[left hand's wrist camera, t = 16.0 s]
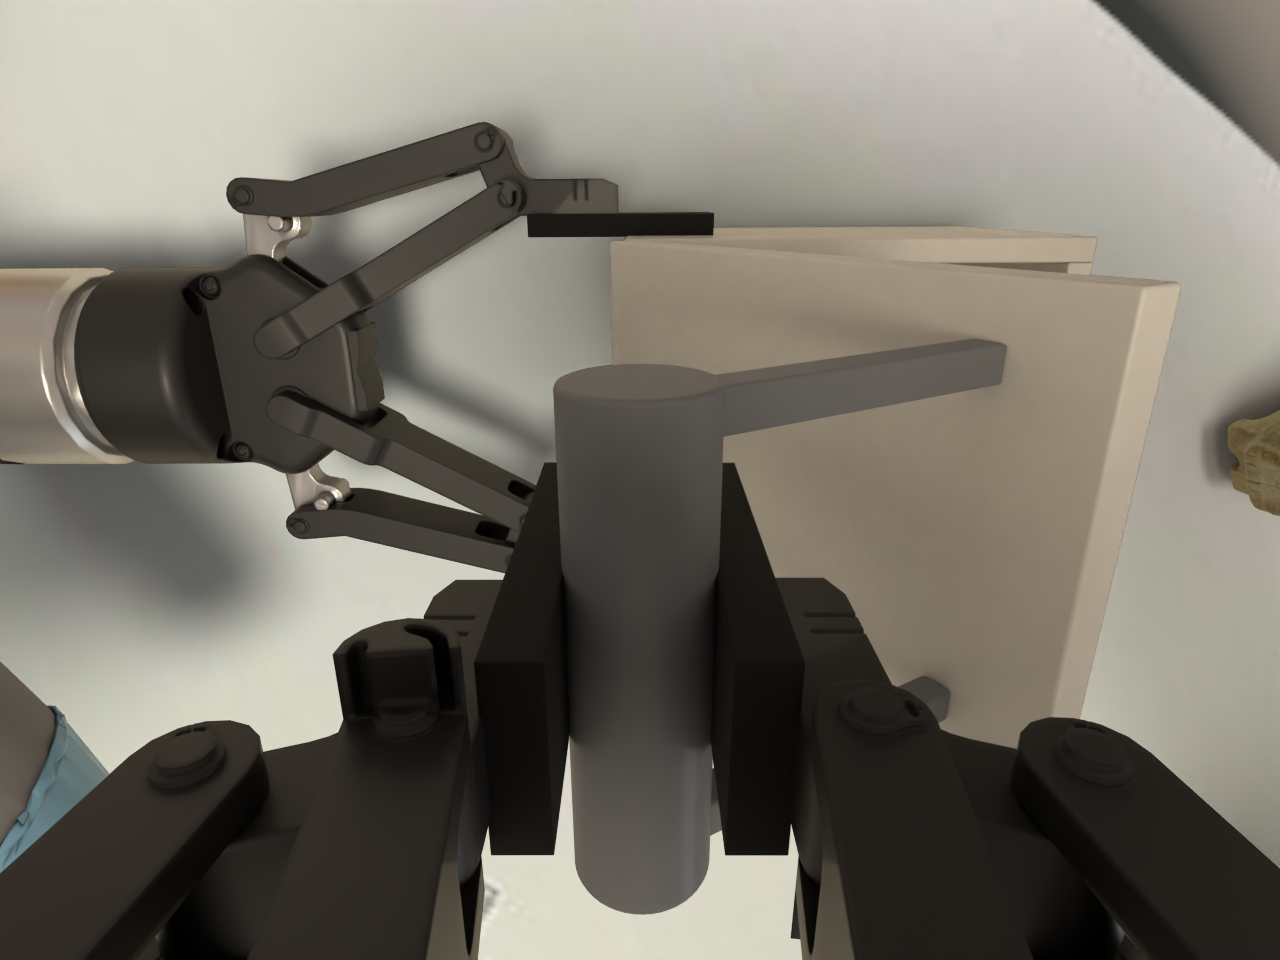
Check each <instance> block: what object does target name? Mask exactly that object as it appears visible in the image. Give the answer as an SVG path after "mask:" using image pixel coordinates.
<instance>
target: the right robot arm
mask: <svg viewBox="0 0 1280 960" xmlns="http://www.w3.org/2000/svg"><path fill="white" fill-rule="evenodd" d="M479 170H480V171H481V173H482V176H483V178H484V181H485V183H486V185H487V189H485V190H483V191H482V192H480V193H479V194H477V195H475V196H474V197H472V198H471V199H469V200H467V201H466V202H464V203H463V204H461V205H459V206H458V207H456V208H455V209H453V210H451V211H450V212H448V213H447V214H445V215H443V216H442V217H440V218H439V219H437V220H436V221H434V222H432V223H431V224H429V225H428V226H426V227H424V228H423V229H421V230H420V231H418V232H416V233H415V234H413V235H412V236H410V237H408V238H407V239H405V240H404V241H402V242H400V243H399V244H397V245H396V246H394V247H392V248H391V249H389V250H388V251H386V252H384V253H383V254H381V255H380V256H378V257H376V258H375V259H373V260H372V261H370V262H368V263H367V264H365V265H364V266H362V267H360V268H359V269H357V270H356V271H354V272H352V273H350V274H348V275H346V276H344V277H342V278H340V279H338V280H337V281H335V282H334V283H332V284H330V285H328V284H327V283H325V282H324V281H322V280H321V279H319V278H318V277H316V276H315V275H313V274H312V273H310V272H309V271H307V270H306V269H304V268H303V267H301V266H300V265H298V264H297V263H295V262H294V261H292V260H291V259H289V258H288V257H286V256H285V249H286V246H287V245H288V243H289V242H290V241H292V240H294V239H298V238H302V237H304V236H306V235H307V234H308V233H309V231H310V229H311V216H325V215H333V214H337V213H341V212H345V211H348V210H352V209H355V208H358V207H361V206H365V205H368V204H371V203H374V202H378V201H381V200H384V199H387V198H391V197H394V196H397V195H400V194H404V193H407V192H410V191H414V190H417V189H420V188H423V187H427V186H430V185H433V184H436V183H440V182H443V181H446V180H449V179H453V178H456V177H459V176H462V175H466V174H469V173H472V172H475V171H479ZM226 195H227V199H228V202H229V203H230V205H231V206H232V208H233V209H235V210H236V211H238V212H239V213H243V217H244V228H245V238H246V248H247V256H245V257H243V258H241V259H240V260H238V261H237V262H235V263H234V264H232V265H230V266H228V267H169V268H124V269H119V270H117V271H111V270H108V269H105V268H30V269H0V464H128V463H131V462H134V461H138V462H141V463H148V464H178V463H242V462H255V463H260V464H263V465H266V466H269V467H271V468H273V469H275V470H277V471H279V472H282V473H286V476H287V480H288V484H289V488H290V491H291V495H292V499H293V503H294V506H295V511H294V512H293V513H292V514H291V515H290V516H288V518H287V521H286V527H287V529H288V531H289V533H291V534H292V535H293V536H294V537H296V538H299V539H313V538H325V537H337V536H348V537H352V538H356V539H361V540H365V541H369V542H374V543H378V544H382V545H386V546H391V547H395V548H399V549H403V550H408V551H412V552H416V553H420V554H425V555H429V556H433V557H438V558H442V559H446V560H450V561H455V562H459V563H463V564H467V565H472V566H476V567H480V568H485V569H489V570H493V571H497V572H502V573H506V570H507V567H508V565H509V562H510V559H511V556H512V553H513V550H514V548H515V545H516V542H517V539H518V536H519V533H520V531H521V528H522V525H523V522H524V519H525V516H526V514H527V511H528V508H529V505H530V502H531V499H532V497H533V494H534V491H535V488H536V485H534V484H532V483H530V482H528V481H526V480H524V479H522V478H520V477H518V476H516V475H514V474H512V473H510V472H508V471H506V470H504V469H502V468H500V467H498V466H496V465H494V464H492V463H490V462H488V461H486V460H484V459H482V458H480V457H478V456H476V455H474V454H471V453H469V452H467V451H465V450H463V449H461V448H459V447H457V446H455V445H453V444H451V443H449V442H447V441H445V440H443V439H441V438H439V437H437V436H435V435H433V434H431V433H429V432H427V431H425V430H423V429H421V428H419V427H417V426H415V425H413V424H411V423H410V422H409V421H408V420H407V419H406V417H405V416H404V415H402V414H401V413H399V412H397V411H395V410H393V409H391V408H389V407H387V406H385V405H383V404H381V403H380V402H381V401H382V400H383V399H385V397H384V389H383V382H382V378H381V376H380V373H379V371H378V368H377V366H376V363H375V355H376V348H377V334H376V326H375V322H370V321H369V319H368V317H367V315H366V314H365V312H366V311H368V310H370V309H371V308H373V307H375V306H376V305H378V304H379V303H381V302H383V301H384V300H386V299H388V298H389V297H391V296H392V295H393V294H394V293H396V292H398V291H399V290H401V289H402V288H404V287H406V286H407V285H409V284H411V283H412V282H414V281H416V280H417V279H419V278H420V277H422V276H424V275H425V274H427V273H429V272H430V271H432V270H433V269H435V268H437V267H438V266H440V265H442V264H443V263H445V262H446V261H448V260H450V259H451V258H453V257H455V256H456V255H458V254H460V253H461V252H463V251H464V250H466V249H468V248H469V247H471V246H473V245H474V244H476V243H477V242H479V241H481V240H482V239H484V238H486V237H487V236H489V235H491V234H492V233H494V232H495V231H497V230H499V229H500V228H502V227H504V226H505V225H507V224H508V223H510V222H512V221H513V220H515V219H517V218H518V217H520V216H527V224H528V237H626V236H681V235H713V231H714V213H709V212H660V213H618V185H616V184H614V183H611V182H609V181H607V180H604V179H533V178H531V177H529V176H528V175H527V174H526V173H525V172H524V171H523V170H522V168H521V166H520V164H519V161H518V159H517V156H516V154H515V151H514V148H513V142H512V140H511V138H510V136H509V135H508V134H507V133H506V132H505V131H504V130H502V129H500V128H498V127H496V126H494V125H492V124H489V123H487V122H481V123H476V124H473V125H470V126H466V127H463V128H460V129H457V130H454V131H450V132H447V133H444V134H441V135H438V136H435V137H431V138H428V139H425V140H422V141H419V142H415V143H412V144H409V145H406V146H403V147H399V148H396V149H393V150H390V151H387V152H383V153H380V154H377V155H374V156H371V157H368V158H364V159H361V160H358V161H355V162H352V163H348V164H345V165H342V166H339V167H336V168H332V169H329V170H326V171H323V172H320V173H316V174H313V175H310V176H307V177H304V178H300V179H297V180H294V181H288V180H276V179H260V178H243V177H242V178H235V179H234V180H232V181H231V182H230V183H229V185H228V187H227V192H226ZM334 450H336V451H338V452H340V453H342V454H345V455H347V456H349V457H351V458H353V459H355V460H357V461H359V462H361V463H364V464H367V465H379V466H382V467H384V468H387V469H389V470H391V471H393V472H395V473H397V474H399V475H401V476H403V477H405V478H407V479H409V480H411V481H413V482H415V483H418V484H420V485H422V486H424V487H426V488H428V489H430V490H432V491H434V492H436V493H438V494H440V495H442V496H444V497H446V498H449V499H451V500H453V501H455V502H457V503H459V504H461V505H463V506H465V507H467V508H469V509H471V510H473V511H475V512H477V513H480V514H482V515H479V514H475V513H471V512H467V511H462V510H458V509H454V508H450V507H446V506H442V505H437V504H433V503H429V502H425V501H421V500H417V499H413V498H408V497H404V496H400V495H396V494H392V493H388V492H383V491H379V490H374V489H366V488H350V487H349V482H348V481H347V480H346V479H344V478H337V477H332V476H329V475H326V474H325V473H324V472H323V471H322V470H321V469H320V467H319V464H318V462H320V461H321V460H322V459H323V458H325V457H326V456H327V455H329V454H330V453H331V452H332V451H334ZM483 515H484V516H483ZM108 775H109V773H108V771H107V770H106V769H105V768H104V767H103V765H102V764H101V763H100V762H99V760H98V759H97V758H96V757H95V756H94V754H93V753H92V752H91V751H90V750H89V748H88V747H87V746H86V745H85V743H84V742H83V741H82V740H81V739H80V737H79V736H78V735H77V734H76V733H75V731H74V730H73V729H72V728H71V726H70V725H69V724H68V723H67V721H66V718H65V716H64V715H63V714H62V713H61V712H60V711H59V709H58V708H57V707H56V706H46V705H45V704H44V703H43V702H42V701H41V700H40V699H39V698H38V697H37V696H36V695H35V694H34V693H33V692H32V691H31V690H30V689H28V688H27V687H26V686H25V685H24V684H23V683H22V682H21V681H20V680H19V679H18V678H17V677H16V676H15V675H14V674H13V673H12V672H11V671H10V670H9V669H8V668H6V667H5V666H4V665H3V664H2V663H1V662H0V873H1V872H2V871H3V870H4V869H5V868H7V867H8V866H9V865H10V864H11V863H12V862H13V861H14V860H15V859H17V858H18V857H19V856H20V855H21V854H22V853H23V852H24V851H25V850H26V849H28V848H29V847H30V846H31V845H32V844H33V843H34V842H35V841H36V840H37V839H39V838H40V837H41V836H42V835H43V834H44V833H45V832H46V831H47V830H49V829H50V828H51V827H52V826H53V825H54V824H55V823H56V822H57V821H58V820H60V819H61V818H62V817H63V816H64V815H65V814H66V813H67V812H68V811H70V810H71V809H72V808H73V807H74V806H75V805H76V804H77V803H78V802H79V801H81V800H82V799H83V798H84V797H85V796H86V795H87V794H88V793H89V792H91V791H92V790H93V789H94V788H95V787H96V786H97V785H98V784H99V783H100V782H102V781H103V780H104V779H105V778H106V777H107V776H108Z"/></svg>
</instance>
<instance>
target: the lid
mask: <svg viewBox="0 0 1280 960" xmlns="http://www.w3.org/2000/svg"><path fill="white" fill-rule="evenodd" d="M610 269H611V323H612V365H608V366H599V367H593V368H587V369H583V370H579V371H575V372H572V373H570V374H567V375H564V376H563V377H561V378H559V379H558V380H557V381H556V383H555V385H554V389H553V393H554V415H555V437H556V458H557V480H558V502H559V524H560V545H561V567H562V572H563V596H564V619H565V642H566V665H567V689H568V712H569V740H570V762H571V784H572V805H573V827H574V849H575V864H576V870H577V873H578V876H579V878H580V880H581V882H582V884H583V885H584V886H585V888H586V889H587V890H588V892H589V893H590V894H591V895H592V896H593V897H594V898H595V899H597V900H598V901H599V902H601V903H602V904H604V905H606V906H608V907H610V908H612V909H615V910H617V911H621V912H624V913H630V914H654V913H659V912H663V911H666V910H670V909H672V908H674V907H676V906H678V905H680V904H681V903H683V902H685V901H686V900H687V899H688V898H690V897H691V896H692V895H693V894H694V893H695V892H696V891H697V889H698V888H699V886H700V885H701V883H702V882H703V880H704V878H705V876H706V873H707V870H708V865H709V850H710V836H711V835H713V834H715V833H717V832H719V831H721V830H722V826H721V818H720V810H719V803H718V795H717V787H716V779H715V772H714V768H713V769H712V762H713V756H712V748H711V724H712V697H713V670H714V644H715V617H716V590H717V573H718V570H719V556H720V526H721V497H722V468H723V463H735V465H736V468H737V471H738V474H739V477H740V480H741V482H742V485H743V488H744V491H745V494H746V497H747V499H748V502H749V505H750V508H751V511H752V513H753V516H754V519H755V522H756V525H757V528H758V530H759V533H760V536H761V539H762V542H763V545H764V547H765V550H766V553H767V556H768V559H769V562H770V564H771V567H772V570H773V573H774V576H775V578H825V579H826V580H827V581H829V582H830V583H831V584H833V585H834V586H835V587H837V588H838V589H839V590H841V591H842V592H843V593H845V594H846V596H847V598H848V600H849V602H850V604H851V606H852V608H853V609H854V611H855V613H856V614H855V616H856V617H858V619H859V621H860V623H861V625H862V627H863V629H864V634H866V635H867V637H868V639H869V641H870V642H871V644H872V646H873V648H874V650H875V652H876V654H877V656H878V658H879V660H880V662H881V664H882V666H883V668H884V670H885V672H886V673H887V675H888V677H889V679H890V681H891V683H892V685H894V686H897V687H899V688H902V689H904V690H907V691H909V692H910V693H912V694H913V695H914V696H916V697H917V698H919V699H920V700H921V701H923V702H924V703H926V704H927V706H928V707H929V709H930V710H931V711H932V713H933V714H934V716H935V717H936V719H937V721H938V723H939V726H940V728H941V729H942V730H944V731H947V732H949V733H951V734H955V735H958V736H962V737H966V738H969V739H973V740H978V741H983V742H987V743H992V744H997V745H1001V746H1006V747H1011V748H1015V749H1017V745H1018V741H1019V736H1020V732H1021V731H1022V730H1023V729H1024V728H1025V727H1026V726H1027V725H1028V724H1029V723H1030V722H1033V721H1037V720H1040V719H1044V718H1048V717H1062V718H1076V719H1080V715H1081V711H1082V706H1083V702H1084V698H1085V694H1086V689H1087V685H1088V681H1089V677H1090V672H1091V668H1092V664H1093V660H1094V655H1095V651H1096V647H1097V643H1098V638H1099V634H1100V630H1101V626H1102V621H1103V617H1104V613H1105V609H1106V604H1107V600H1108V596H1109V592H1110V587H1111V583H1112V579H1113V575H1114V570H1115V566H1116V562H1117V558H1118V553H1119V549H1120V545H1121V541H1122V536H1123V532H1124V528H1125V524H1126V519H1127V515H1128V511H1129V507H1130V502H1131V498H1132V494H1133V490H1134V485H1135V481H1136V477H1137V473H1138V468H1139V464H1140V460H1141V456H1142V451H1143V447H1144V443H1145V439H1146V434H1147V430H1148V426H1149V422H1150V417H1151V413H1152V409H1153V405H1154V400H1155V396H1156V392H1157V388H1158V383H1159V379H1160V375H1161V371H1162V366H1163V362H1164V358H1165V354H1166V349H1167V345H1168V341H1169V337H1170V333H1171V328H1172V324H1173V320H1174V316H1175V311H1176V307H1177V303H1178V299H1179V294H1180V290H1181V284H1180V283H1178V282H1173V281H1160V280H1147V279H1134V278H1121V277H1109V276H1096V275H1083V274H1070V273H1057V272H1044V271H1031V270H1018V269H1005V268H992V267H979V266H966V265H953V264H940V263H928V262H915V261H902V260H889V259H876V258H863V257H850V256H837V255H824V254H811V253H798V252H785V251H772V250H759V249H747V248H734V247H721V246H708V245H695V244H682V243H669V242H656V241H643V240H623V241H611V242H610Z"/></svg>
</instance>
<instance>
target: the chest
mask: <svg viewBox="0 0 1280 960" xmlns="http://www.w3.org/2000/svg"><path fill="white" fill-rule="evenodd" d="M625 240H643V241H656V242H669V243H682V244H695V245H708V246H721V247H734V248H747V249H759V250H772V251H785V252H798V253H811V254H824V255H837V256H850V257H863V258H876V259H889V260H902V261H915V262H928V263H940V264H953V265H966V266H979V267H992V268H1005V269H1018V270H1031V271H1044V272H1057V273H1070V274H1083V275H1091V270H1092V263H1091V262H1092V261H1093V259H1094V253H1095V248H1096V243H1097V237H1093V236H1081V235H1068V234H1056V233H1043V232H1030V231H1018V230H1005V229H993V228H980V227H967V226H893V227H721V228H714V231H713V235H681V236H626V238H625Z"/></svg>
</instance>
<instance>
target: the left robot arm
mask: <svg viewBox="0 0 1280 960" xmlns="http://www.w3.org/2000/svg"><path fill="white" fill-rule="evenodd" d="M855 614H856V613H855V611H854V609H853V608H852V606H851V604H850V602H849V600H848V598H847V596H846V594H845V593H843V592H842V591H841V590H839V589H838V588H837V587H835V586H834V585H833V584H831V583H830V582H829V581H827V580H826V579H825V578H775V576H774V573H773V570H772V567H771V564H770V562H769V559H768V556H767V553H766V550H765V547H764V545H763V542H762V539H761V536H760V533H759V530H758V528H757V525H756V522H755V519H754V516H753V513H752V511H751V508H750V505H749V502H748V499H747V497H746V494H745V491H744V488H743V485H742V482H741V480H740V477H739V474H738V471H737V468H736V465H735V463H723V468H722V497H721V526H720V556H719V570H718V573H717V590H716V617H715V644H714V670H713V697H712V724H711V748H712V756H713V764H714V772H715V779H716V787H717V795H718V803H719V810H720V818H721V826H722V834H723V841H724V849H725V855H788V850H789V839H790V828H791V825H792V829H793V833H794V837H795V841H796V845H797V850H798V854H799V858H798V869H797V879H796V889H795V900H794V910H793V920H792V931H791V938H794V939H801V949H802V959H803V960H1280V868H1278V867H1277V866H1276V865H1275V864H1274V863H1273V862H1272V861H1271V860H1270V859H1268V858H1267V857H1266V856H1265V855H1264V854H1263V853H1262V852H1261V851H1260V850H1258V849H1257V848H1256V847H1255V846H1254V845H1253V844H1252V843H1251V842H1249V841H1248V840H1247V839H1246V838H1245V837H1244V836H1243V835H1242V834H1241V833H1239V832H1238V831H1237V830H1236V829H1235V828H1234V827H1233V826H1232V825H1231V824H1229V823H1228V822H1227V821H1226V820H1225V819H1224V818H1223V817H1222V816H1221V815H1219V814H1218V813H1217V812H1216V811H1215V810H1214V809H1213V808H1212V807H1211V806H1209V805H1208V804H1207V803H1206V802H1205V801H1204V800H1203V799H1202V798H1201V797H1199V796H1198V795H1197V794H1196V793H1195V792H1194V791H1193V790H1192V789H1191V788H1189V787H1188V786H1187V785H1186V784H1185V783H1184V782H1183V781H1182V780H1180V779H1179V778H1178V777H1177V776H1176V775H1175V774H1174V773H1173V772H1172V771H1170V770H1169V769H1168V768H1167V767H1166V766H1165V765H1164V764H1163V763H1162V762H1160V761H1159V760H1158V759H1157V758H1156V757H1155V756H1154V755H1153V754H1152V753H1150V752H1149V751H1147V750H1146V749H1145V748H1143V747H1142V746H1140V745H1139V744H1138V743H1136V742H1135V741H1133V740H1132V739H1130V738H1129V737H1127V736H1125V735H1123V734H1121V733H1118V732H1116V731H1114V730H1112V729H1110V728H1107V727H1105V726H1103V725H1100V724H1097V723H1094V722H1088V721H1086V720H1080V719H1076V718H1062V717H1048V718H1044V719H1040V720H1037V721H1033V722H1030V723H1029V724H1028V725H1027V726H1026V727H1025V728H1024V729H1023V730H1022V731H1021V732H1020V736H1019V741H1018V745H1017V749H1015V748H1011V747H1006V746H1001V745H997V744H992V743H987V742H983V741H978V740H973V739H969V738H966V737H962V736H958V735H955V734H951V733H949V732H947V731H944V730H942V729H941V728H940V726H939V723H938V721H937V719H936V717H935V716H934V714H933V713H932V711H931V710H930V709H929V707H928V706H927V704H926V703H924V702H923V701H921V700H920V699H919V698H917V697H916V696H914V695H913V694H912V693H910V692H909V691H907V690H904V689H902V688H899V687H897V686H894V685H892V683H891V681H890V679H889V677H888V675H887V673H886V672H885V670H884V668H883V666H882V664H881V662H880V660H879V658H878V656H877V654H876V652H875V650H874V648H873V646H872V644H871V642H870V641H869V639H868V637H867V635H866V634H864V629H863V627H862V625H861V623H860V621H859V619H858V617H856V616H855ZM333 659H334V665H335V671H336V677H337V683H338V689H339V695H340V701H341V707H342V713H343V719H344V720H343V722H342V725H341V727H340V730H339V732H338V733H336V734H333V735H331V736H329V737H325V738H322V739H318V740H315V741H311V742H307V743H302V744H298V745H293V746H288V747H284V748H279V749H275V750H270V751H265V752H263V750H262V745H261V740H260V736H259V735H258V734H257V733H256V732H255V731H254V730H253V729H252V728H251V727H250V726H249V725H246V724H242V723H238V722H234V721H231V720H228V721H205V722H201V723H197V724H194V725H188V726H185V727H181V728H178V729H176V730H174V731H171V732H169V733H167V734H165V735H163V736H160V737H158V738H156V739H154V740H152V741H150V742H149V743H147V744H146V745H145V746H143V747H142V748H140V749H139V750H138V751H136V752H135V753H133V754H132V755H131V756H129V757H128V758H127V759H126V760H125V761H124V762H123V763H121V764H120V765H119V766H118V767H117V768H116V769H115V770H114V771H113V772H111V773H110V774H109V775H108V776H107V777H106V778H105V779H104V780H103V781H102V782H100V783H99V784H98V785H97V786H96V787H95V788H94V789H93V790H92V791H91V792H89V793H88V794H87V795H86V796H85V797H84V798H83V799H82V800H81V801H79V802H78V803H77V804H76V805H75V806H74V807H73V808H72V809H71V810H70V811H68V812H67V813H66V814H65V815H64V816H63V817H62V818H61V819H60V820H58V821H57V822H56V823H55V824H54V825H53V826H52V827H51V828H50V829H49V830H47V831H46V832H45V833H44V834H43V835H42V836H41V837H40V838H39V839H37V840H36V841H35V842H34V843H33V844H32V845H31V846H30V847H29V848H28V849H26V850H25V851H24V852H23V853H22V854H21V855H20V856H19V857H18V858H17V859H15V860H14V861H13V862H12V863H11V864H10V865H9V866H8V867H7V868H5V869H4V870H3V871H2V872H1V873H0V960H478V951H479V941H480V931H481V921H482V911H483V901H484V891H485V889H484V879H483V869H482V858H481V854H482V850H483V846H484V842H485V837H486V833H487V829H488V826H489V837H490V848H491V855H554V850H555V843H556V835H557V827H558V819H559V812H560V804H561V796H562V788H563V781H564V773H565V765H566V757H567V750H568V742H569V712H568V689H567V665H566V642H565V619H564V596H563V572H562V567H561V545H560V524H559V502H558V480H557V463H544V466H543V468H542V471H541V474H540V477H539V480H538V483H537V485H536V488H535V491H534V494H533V497H532V499H531V502H530V505H529V508H528V511H527V514H526V516H525V519H524V522H523V525H522V528H521V531H520V533H519V536H518V539H517V542H516V545H515V548H514V550H513V553H512V556H511V559H510V562H509V565H508V567H507V570H506V573H505V576H504V579H503V580H455V581H454V582H452V583H451V584H450V585H448V586H447V587H446V588H444V589H443V590H442V591H440V592H439V593H438V594H437V595H435V596H434V597H433V599H432V601H431V603H430V605H429V607H428V609H427V611H426V613H425V615H424V619H414V618H407V619H400V620H393V621H387V622H383V623H380V624H377V625H374V626H371V627H368V628H366V629H363V630H361V631H359V632H358V633H356V634H354V635H353V636H351V637H350V638H348V639H346V640H345V641H343V643H342V644H341V645H340V646H339V647H338V649H337V650H336V651H335V652H334V653H333ZM1125 933H1126V934H1125ZM1128 937H1129V938H1130V939H1129V938H1128ZM1132 942H1133V943H1134V944H1133V943H1132ZM1136 947H1137V948H1138V949H1139V950H1138V949H1137V948H1136Z"/></svg>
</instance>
